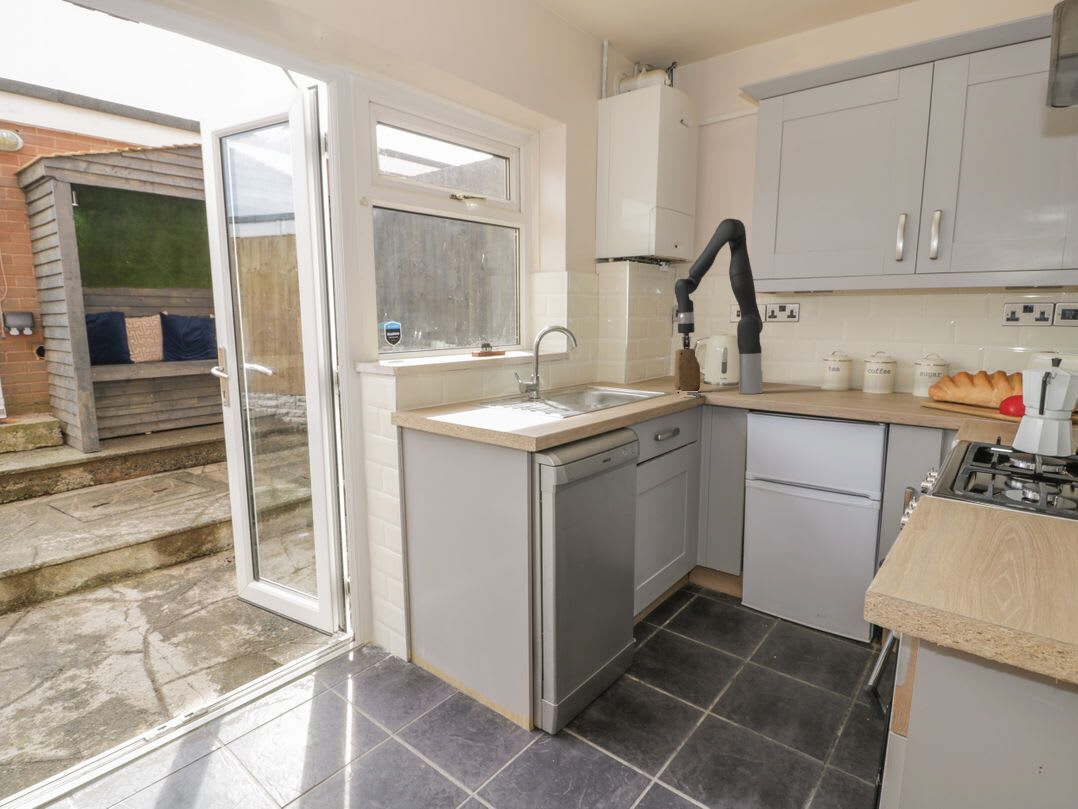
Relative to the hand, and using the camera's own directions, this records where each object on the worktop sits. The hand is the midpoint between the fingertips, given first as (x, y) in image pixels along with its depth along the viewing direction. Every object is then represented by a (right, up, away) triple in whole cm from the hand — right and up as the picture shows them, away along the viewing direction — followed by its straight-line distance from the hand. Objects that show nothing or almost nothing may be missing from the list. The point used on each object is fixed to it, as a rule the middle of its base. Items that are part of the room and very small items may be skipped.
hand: (686, 360), depth 272 cm
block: (-1, -16, -6) cm, 16 cm away
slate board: (-4, -17, -19) cm, 26 cm away
